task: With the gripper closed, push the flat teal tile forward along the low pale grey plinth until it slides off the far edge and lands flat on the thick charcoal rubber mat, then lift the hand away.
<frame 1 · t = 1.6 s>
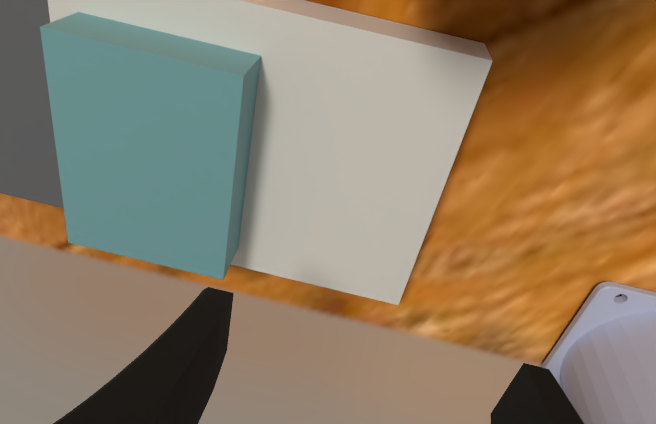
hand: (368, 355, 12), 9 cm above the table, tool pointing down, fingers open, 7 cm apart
plinth: (262, 134, 20), on the table
tile: (168, 144, 18), point 2 cm above the table, touching plinth
mat: (0, 83, 20), on the table
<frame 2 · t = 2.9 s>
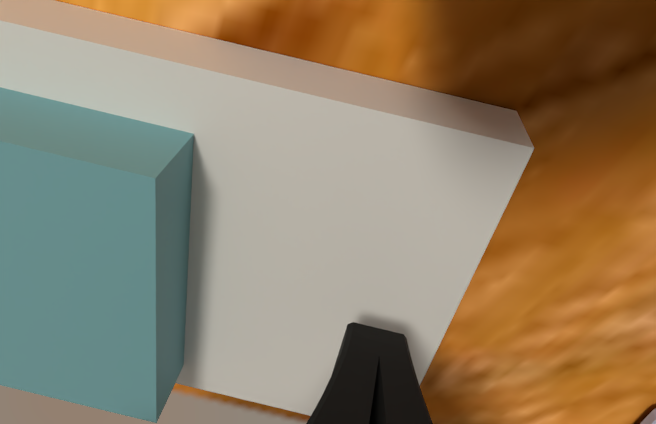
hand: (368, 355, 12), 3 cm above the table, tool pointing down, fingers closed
plinth: (213, 219, 15), on the table
tile: (77, 242, 13), point 2 cm above the table, touching plinth
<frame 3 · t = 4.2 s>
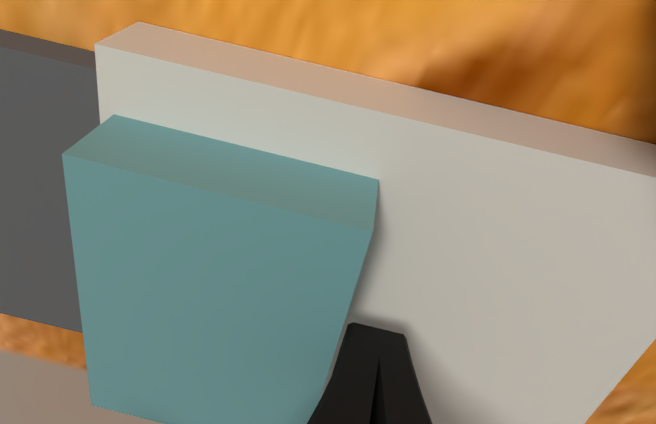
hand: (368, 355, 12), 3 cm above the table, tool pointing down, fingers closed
plinth: (373, 258, 15), on the table
tile: (230, 278, 13), point 2 cm above the table, touching plinth
mat: (22, 187, 15), on the table
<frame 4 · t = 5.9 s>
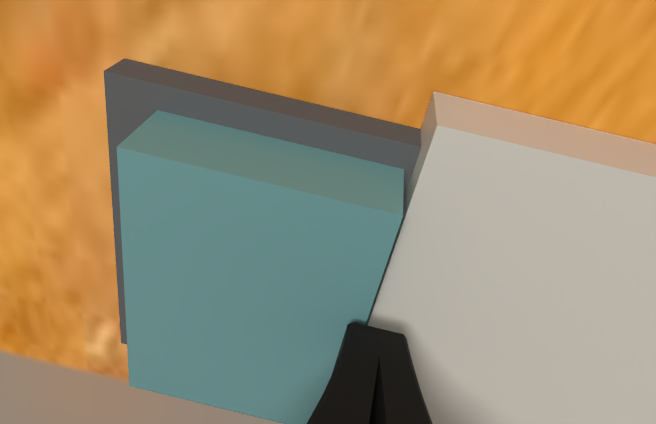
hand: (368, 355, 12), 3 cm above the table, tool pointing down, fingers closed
plinth: (610, 315, 15), on the table
tile: (261, 265, 14), point 1 cm above the table, touching mat
mat: (252, 242, 15), on the table
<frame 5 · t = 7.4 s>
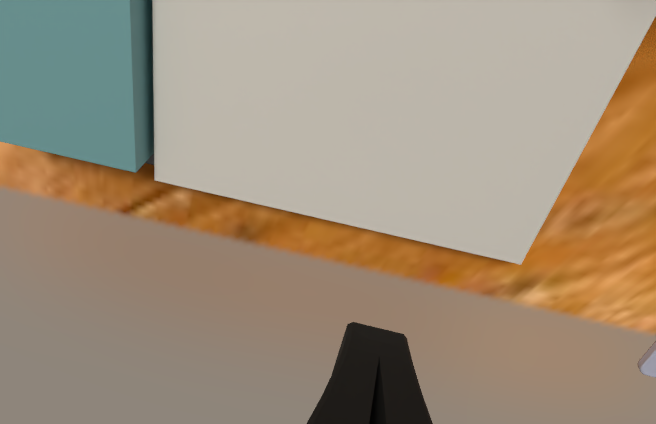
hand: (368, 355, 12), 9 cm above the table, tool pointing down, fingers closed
plinth: (374, 69, 17), on the table
tile: (71, 21, 17), point 1 cm above the table, touching mat
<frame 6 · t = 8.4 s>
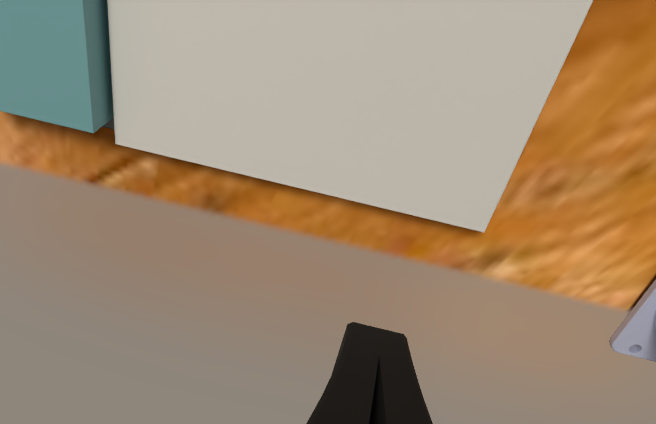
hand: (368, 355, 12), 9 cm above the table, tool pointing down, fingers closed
plinth: (334, 31, 17), on the table
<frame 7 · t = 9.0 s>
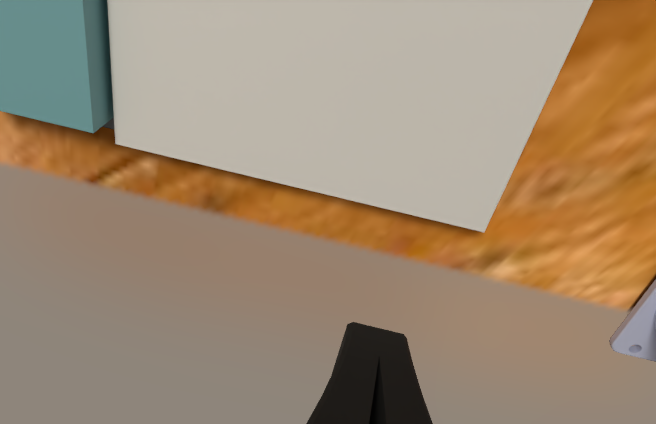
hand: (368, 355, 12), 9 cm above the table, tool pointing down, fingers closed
plinth: (334, 31, 17), on the table
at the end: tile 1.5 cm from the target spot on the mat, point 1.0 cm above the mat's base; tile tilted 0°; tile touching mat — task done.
